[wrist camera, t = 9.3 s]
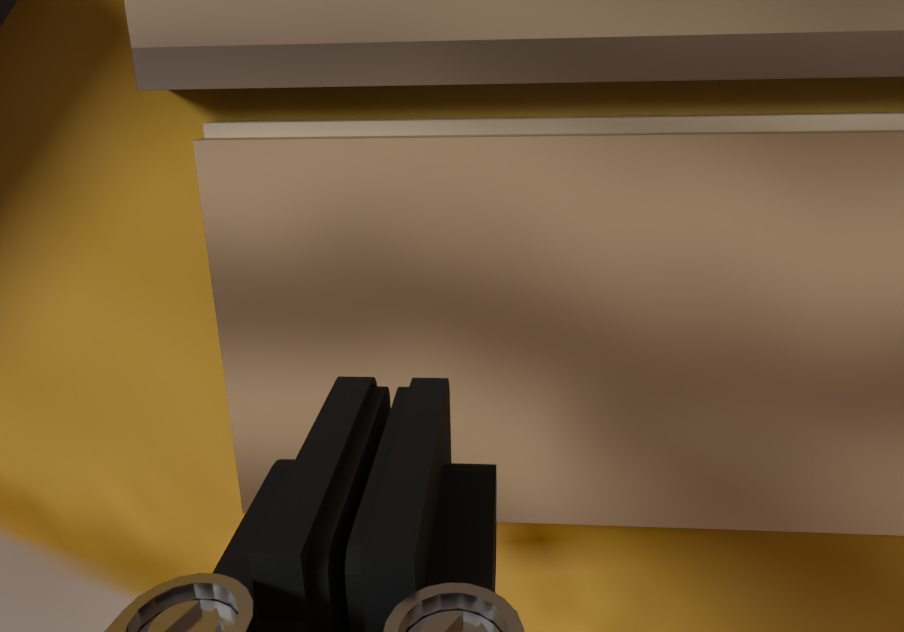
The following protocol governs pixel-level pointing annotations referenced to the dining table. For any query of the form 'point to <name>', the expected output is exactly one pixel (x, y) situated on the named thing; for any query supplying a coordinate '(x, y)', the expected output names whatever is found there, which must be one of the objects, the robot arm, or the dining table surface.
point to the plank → (582, 304)
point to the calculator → (5, 8)
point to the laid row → (506, 41)
